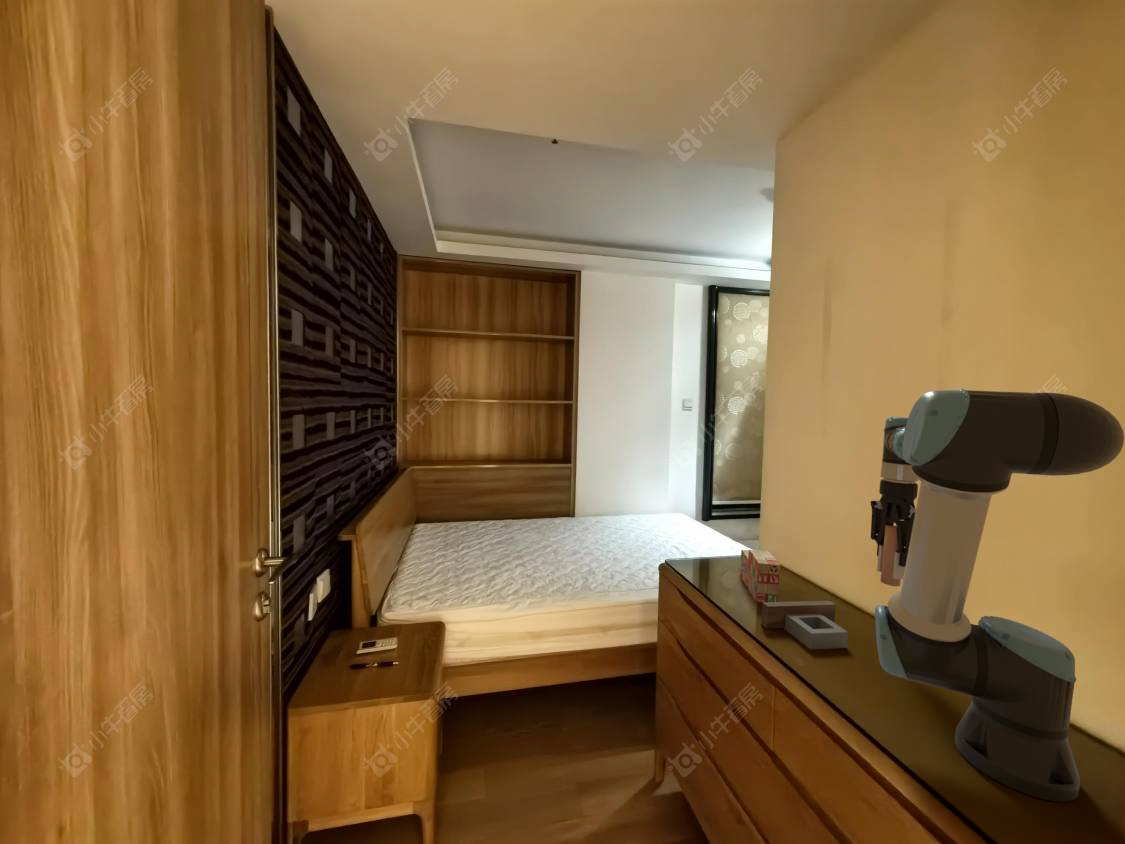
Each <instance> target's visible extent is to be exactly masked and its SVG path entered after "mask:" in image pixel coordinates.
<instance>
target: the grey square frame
mask: <svg viewBox="0 0 1125 844" xmlns="http://www.w3.org/2000/svg"><path fill="white" fill-rule="evenodd" d="M784 630H785V631H786V632H787V633H789V635H791V636H793V637H794V638H795V639H796V640H798V641H799V642H800V643H801V644H802V645H804V646H805V647H807V649H809V651H810V650H827V649H830V650H831V649H833V650H834V649H847V648H848V637H849V631H847V630H845V629H844V628H843V627H841V626H840V625H838V624H837V623H835V621H834V622H832V621H831V620H829V619H828V618H826V617H825V616H823V615H822V614H820V613H810V614H786V616H785V628H784Z"/></svg>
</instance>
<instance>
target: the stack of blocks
mask: <svg viewBox="0 0 1125 844" xmlns="http://www.w3.org/2000/svg"><path fill="white" fill-rule="evenodd" d="M780 572H781V564H780V563H779V562H778V560H777V559H776V558H775V556H773V555H772V554H771V553H770V551H768V550H760V549H759V550H756V549H748V550H747V549H741V553H740V575H739V576H740V577H741V580H742V582H743V583H744V585H745V586H746V588H747V589H748V592H749V593H750V594H751V596H752V599H753V600H754V602H755V603H759V604H763V602H778V599H779V595H778V594H779V593H778V592H779V585H780V574H781V573H780Z"/></svg>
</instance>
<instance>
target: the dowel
mask: <svg viewBox="0 0 1125 844" xmlns="http://www.w3.org/2000/svg"><path fill="white" fill-rule="evenodd" d="M896 550H898V541H897V529H896V525H885V534H884V546H883V557H882V569H881V572H880V583H882V584H884V585H887V586H892V587H900V586H901V580H902V579H894V578H893V568H894V556H895V551H896Z"/></svg>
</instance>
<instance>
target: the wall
mask: <svg viewBox="0 0 1125 844" xmlns="http://www.w3.org/2000/svg"><path fill="white" fill-rule="evenodd" d="M836 605H837V604H836V603H834V602H833V601H831V600H804V601H803V600H801V601H800V600H799V601H777V602H763V603H762V609H761V621H760V622H761V623H760V625H761V624H762V625H761V626H762V627H764V628H765V627H766V628H770V629H785V616H786V614H810V613H820V614H822V615H823V616H825V617H826V618H828V619H829V620H831V621H832V622H834V623H835V618H836ZM766 628H765V629H766Z"/></svg>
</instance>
